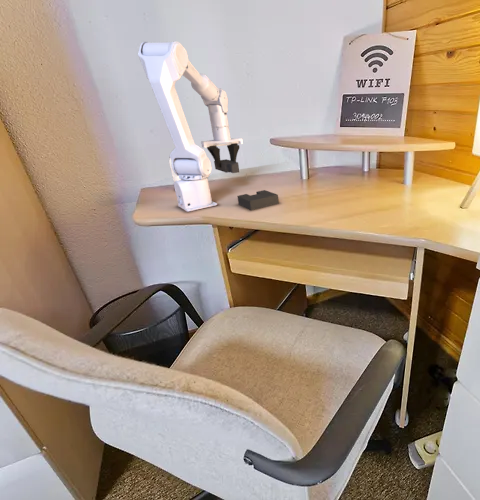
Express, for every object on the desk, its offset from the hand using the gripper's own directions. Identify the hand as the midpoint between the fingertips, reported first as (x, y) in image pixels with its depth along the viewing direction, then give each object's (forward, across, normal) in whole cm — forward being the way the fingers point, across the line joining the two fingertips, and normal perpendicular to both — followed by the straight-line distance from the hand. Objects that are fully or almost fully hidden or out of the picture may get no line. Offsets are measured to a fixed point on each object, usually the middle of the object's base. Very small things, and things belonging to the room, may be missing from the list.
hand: (226, 166), depth 117 cm
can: (+8, +12, -11) cm, 19 cm away
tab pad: (+1, 0, +1) cm, 2 cm away
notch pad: (+8, +3, +25) cm, 27 cm away
